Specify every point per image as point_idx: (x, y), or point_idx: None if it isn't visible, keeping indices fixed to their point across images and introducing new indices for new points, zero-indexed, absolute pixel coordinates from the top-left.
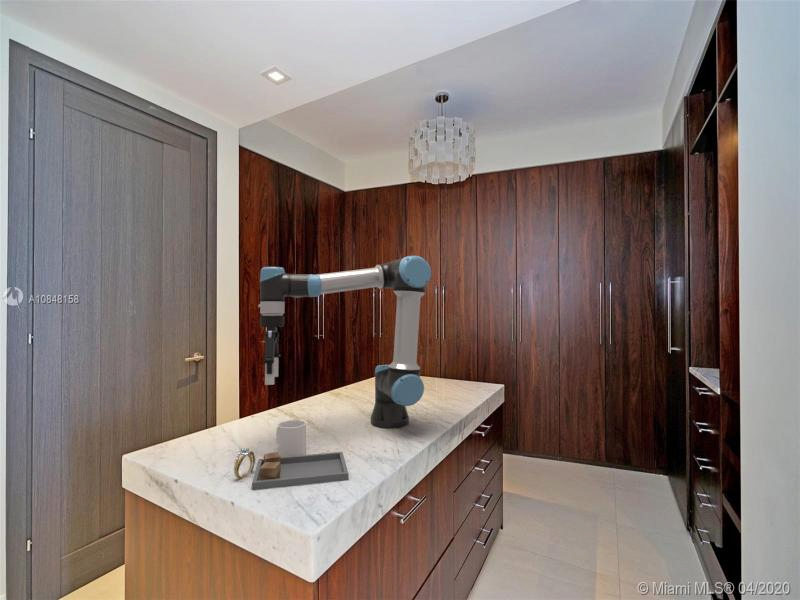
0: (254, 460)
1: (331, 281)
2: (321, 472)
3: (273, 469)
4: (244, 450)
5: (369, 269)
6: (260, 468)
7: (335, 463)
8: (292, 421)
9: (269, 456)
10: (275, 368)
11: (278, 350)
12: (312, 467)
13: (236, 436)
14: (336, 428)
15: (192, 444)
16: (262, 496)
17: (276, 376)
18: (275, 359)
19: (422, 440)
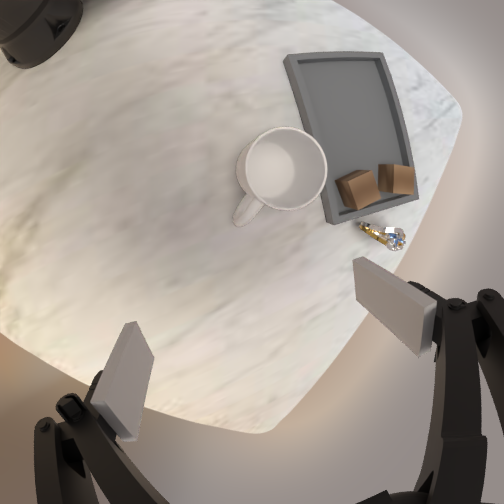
0: (365, 223)
1: None
2: (358, 94)
3: (413, 170)
4: (393, 242)
5: None
6: (413, 193)
7: (317, 71)
8: (248, 178)
9: (369, 193)
10: (131, 363)
11: (41, 439)
12: (339, 111)
13: (148, 345)
14: (65, 126)
15: (207, 394)
16: (416, 178)
17: (139, 329)
18: (118, 405)
19: None
